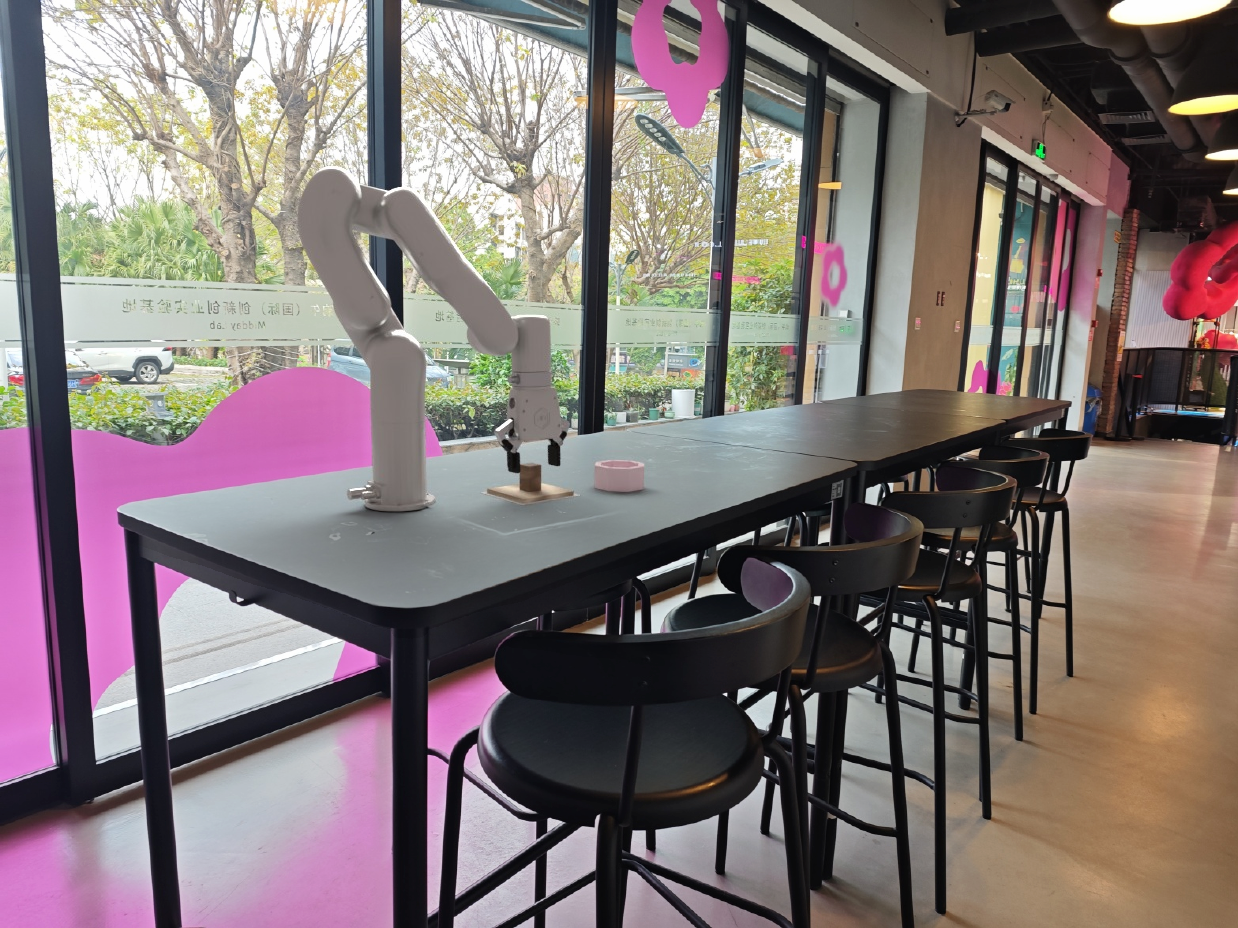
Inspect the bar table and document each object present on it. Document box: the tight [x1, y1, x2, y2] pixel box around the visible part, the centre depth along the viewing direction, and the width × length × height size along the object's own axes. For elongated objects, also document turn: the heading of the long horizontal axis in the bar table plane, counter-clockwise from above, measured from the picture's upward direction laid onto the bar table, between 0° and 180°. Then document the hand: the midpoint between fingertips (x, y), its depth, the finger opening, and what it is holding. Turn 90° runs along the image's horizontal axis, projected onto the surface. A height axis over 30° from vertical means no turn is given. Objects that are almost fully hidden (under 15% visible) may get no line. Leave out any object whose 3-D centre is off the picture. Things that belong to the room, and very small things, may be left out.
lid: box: [486, 462, 575, 503], centre depth 162 cm, size 12×12×6 cm
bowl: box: [593, 459, 645, 493], centre depth 172 cm, size 10×10×5 cm
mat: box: [480, 491, 581, 506], centre depth 163 cm, size 14×14×1 cm
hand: (534, 468), depth 162 cm, fingers open, 9 cm apart
